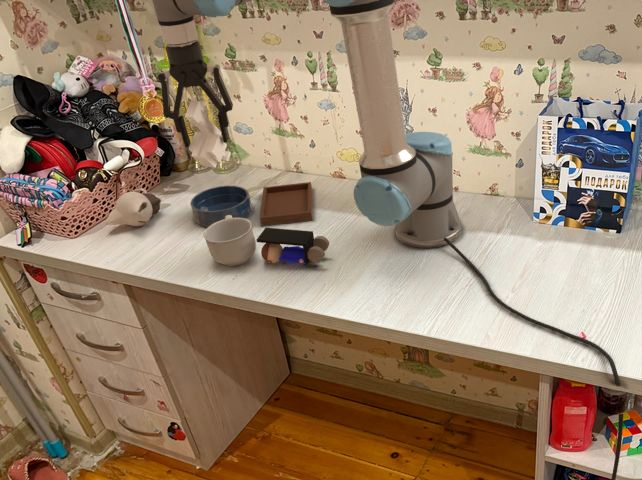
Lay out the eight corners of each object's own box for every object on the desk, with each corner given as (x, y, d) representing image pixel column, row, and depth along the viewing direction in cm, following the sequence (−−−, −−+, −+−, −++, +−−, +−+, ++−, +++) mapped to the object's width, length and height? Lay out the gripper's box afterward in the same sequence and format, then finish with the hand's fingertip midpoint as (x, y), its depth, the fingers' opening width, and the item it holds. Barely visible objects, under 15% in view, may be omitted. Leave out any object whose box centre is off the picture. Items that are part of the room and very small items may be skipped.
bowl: (250, 224, 173) (246, 208, 170) (191, 231, 172) (186, 214, 169) (253, 198, 184) (250, 182, 181) (198, 204, 184) (194, 189, 181)
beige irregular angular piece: (242, 130, 172) (208, 93, 158) (226, 173, 169) (189, 139, 156) (219, 128, 174) (183, 91, 161) (203, 170, 172) (165, 136, 159)
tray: (312, 220, 172) (311, 212, 170) (261, 226, 171) (259, 217, 170) (312, 189, 186) (311, 181, 184) (265, 195, 185) (263, 187, 184)
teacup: (254, 270, 155) (247, 238, 150) (206, 273, 156) (197, 241, 151) (263, 239, 166) (257, 208, 161) (219, 242, 167) (211, 211, 162)
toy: (144, 224, 187) (106, 239, 174) (128, 192, 184) (89, 206, 172) (180, 210, 181) (143, 225, 168) (165, 177, 178) (127, 190, 166)
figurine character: (330, 260, 159) (267, 252, 160) (330, 231, 154) (264, 223, 156) (323, 276, 154) (258, 267, 155) (322, 247, 149) (255, 238, 151)
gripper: (231, 32, 156) (252, 131, 169) (136, 43, 155) (165, 142, 169) (228, 41, 150) (250, 143, 163) (129, 52, 149) (159, 153, 163)
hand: (206, 142), depth 166 cm, fingers closed on beige irregular angular piece, 8 cm apart
